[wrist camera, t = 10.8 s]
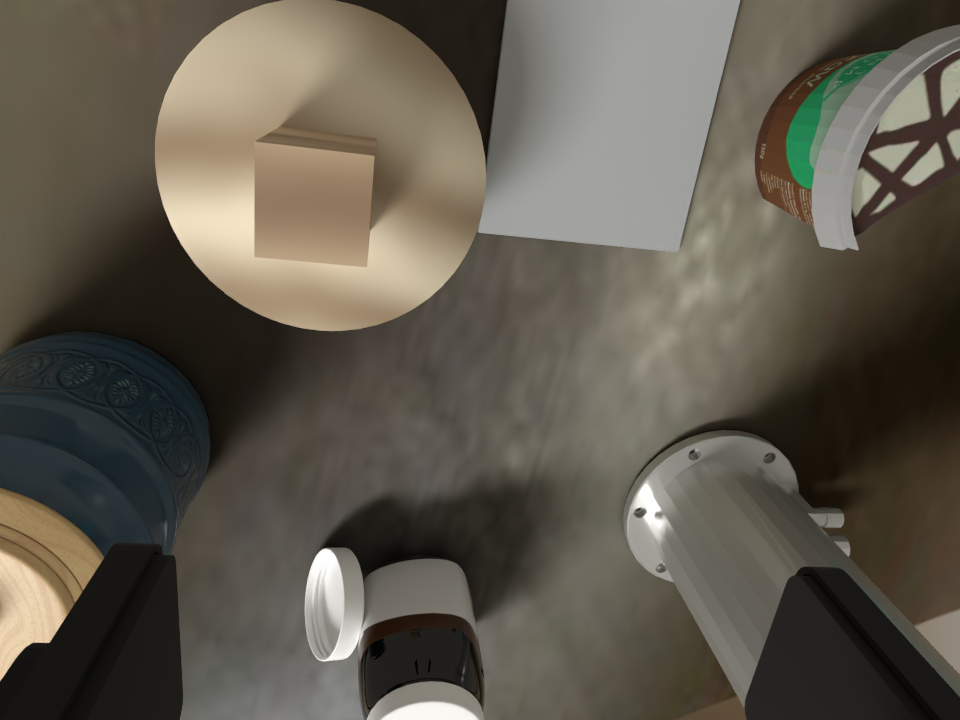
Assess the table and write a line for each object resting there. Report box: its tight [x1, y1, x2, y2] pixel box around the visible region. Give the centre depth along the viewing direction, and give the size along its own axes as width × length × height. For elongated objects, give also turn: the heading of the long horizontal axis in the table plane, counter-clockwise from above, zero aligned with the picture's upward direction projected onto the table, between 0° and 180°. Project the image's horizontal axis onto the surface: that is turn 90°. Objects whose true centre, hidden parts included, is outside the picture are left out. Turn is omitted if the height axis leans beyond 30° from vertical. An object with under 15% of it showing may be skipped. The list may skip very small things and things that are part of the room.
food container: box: [755, 25, 960, 250], centre depth 33 cm, size 12×6×10 cm, turn 125°
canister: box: [0, 332, 211, 681], centre depth 32 cm, size 13×13×18 cm
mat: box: [478, 0, 740, 252], centre depth 36 cm, size 12×14×1 cm
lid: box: [155, 0, 486, 331], centre depth 27 cm, size 14×14×7 cm
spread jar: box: [305, 548, 485, 720], centre depth 42 cm, size 12×11×12 cm
